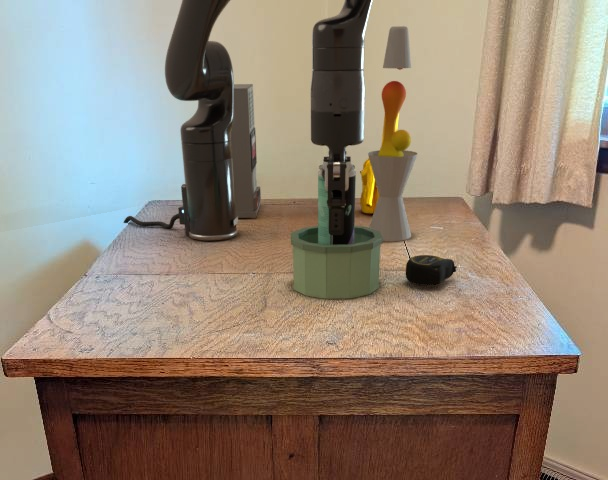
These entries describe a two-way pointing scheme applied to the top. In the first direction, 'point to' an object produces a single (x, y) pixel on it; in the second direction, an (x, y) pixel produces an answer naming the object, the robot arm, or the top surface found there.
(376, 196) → the figure statuette
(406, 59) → the lava lamp
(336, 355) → the top surface
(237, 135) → the tall labeled grey carton
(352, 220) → the spray can
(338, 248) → the hollow green tube
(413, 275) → the tape measure
